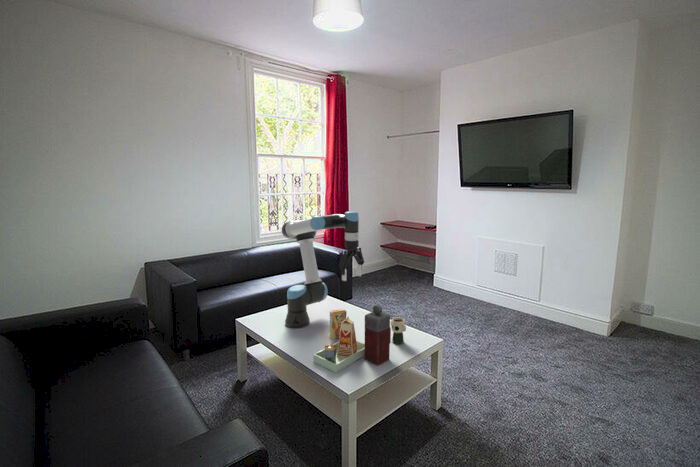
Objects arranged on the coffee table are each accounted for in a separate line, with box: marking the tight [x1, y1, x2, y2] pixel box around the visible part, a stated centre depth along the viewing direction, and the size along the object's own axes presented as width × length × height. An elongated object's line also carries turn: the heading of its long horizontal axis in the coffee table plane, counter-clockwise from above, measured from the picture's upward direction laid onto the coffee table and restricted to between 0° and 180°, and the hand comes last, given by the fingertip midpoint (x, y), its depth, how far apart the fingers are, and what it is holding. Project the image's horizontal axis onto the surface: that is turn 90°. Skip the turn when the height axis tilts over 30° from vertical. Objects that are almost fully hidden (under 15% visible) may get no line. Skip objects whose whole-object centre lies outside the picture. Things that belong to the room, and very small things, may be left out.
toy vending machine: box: [364, 304, 392, 366], centre depth 170 cm, size 9×11×28 cm
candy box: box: [329, 308, 347, 340], centre depth 196 cm, size 9×4×15 cm, turn 116°
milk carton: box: [337, 315, 357, 358], centre depth 174 cm, size 9×9×20 cm
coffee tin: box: [324, 343, 336, 364], centre depth 166 cm, size 6×6×8 cm
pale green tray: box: [312, 340, 365, 374], centre depth 173 cm, size 15×25×4 cm, turn 139°
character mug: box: [390, 316, 407, 345], centre depth 189 cm, size 11×7×13 cm, turn 39°
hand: (351, 278), depth 192 cm, fingers open, 12 cm apart
